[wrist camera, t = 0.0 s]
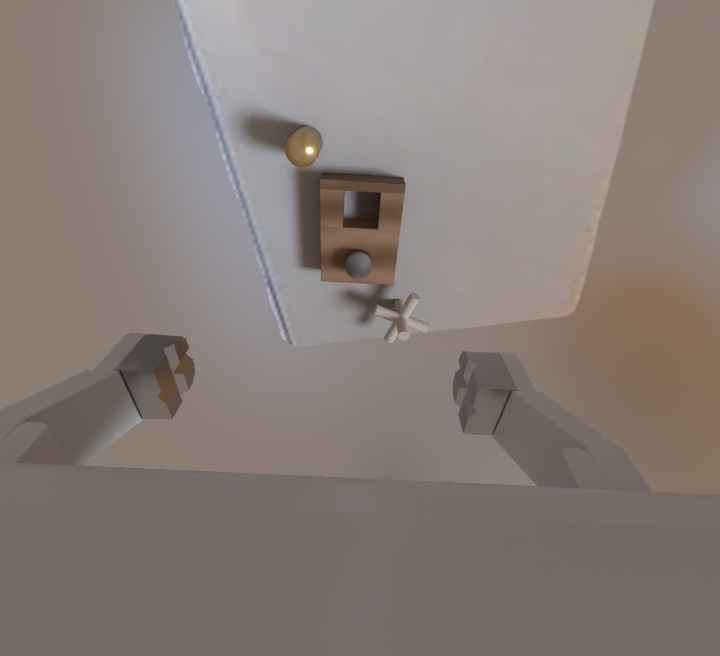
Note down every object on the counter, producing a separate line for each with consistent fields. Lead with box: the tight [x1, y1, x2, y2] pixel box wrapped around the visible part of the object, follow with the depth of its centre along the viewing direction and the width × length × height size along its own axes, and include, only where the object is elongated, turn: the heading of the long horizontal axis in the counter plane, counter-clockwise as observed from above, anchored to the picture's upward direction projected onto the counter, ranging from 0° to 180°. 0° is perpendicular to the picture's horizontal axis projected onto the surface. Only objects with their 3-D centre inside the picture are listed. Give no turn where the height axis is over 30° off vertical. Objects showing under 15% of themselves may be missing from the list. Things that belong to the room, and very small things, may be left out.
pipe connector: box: [373, 293, 429, 343], centre depth 62 cm, size 10×10×10 cm
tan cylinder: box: [285, 126, 323, 168], centre depth 47 cm, size 4×4×7 cm
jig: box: [320, 173, 406, 285], centre depth 55 cm, size 16×12×6 cm
